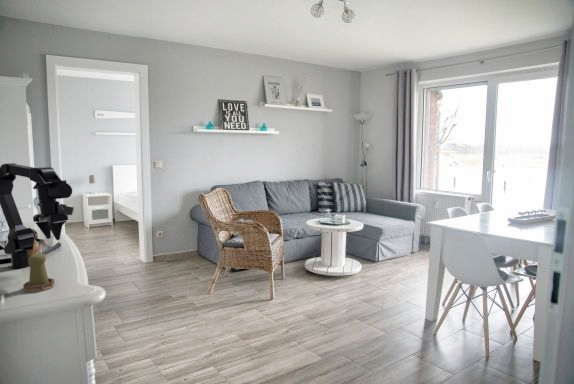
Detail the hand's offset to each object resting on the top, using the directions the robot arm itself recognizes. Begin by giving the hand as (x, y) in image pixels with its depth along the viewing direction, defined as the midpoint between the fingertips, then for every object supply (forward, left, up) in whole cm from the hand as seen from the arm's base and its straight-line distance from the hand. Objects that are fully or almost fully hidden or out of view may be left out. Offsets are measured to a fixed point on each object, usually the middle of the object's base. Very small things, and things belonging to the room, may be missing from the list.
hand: (53, 239), depth 158 cm
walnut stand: (+14, -15, -13) cm, 24 cm away
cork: (+14, -14, -12) cm, 24 cm away
